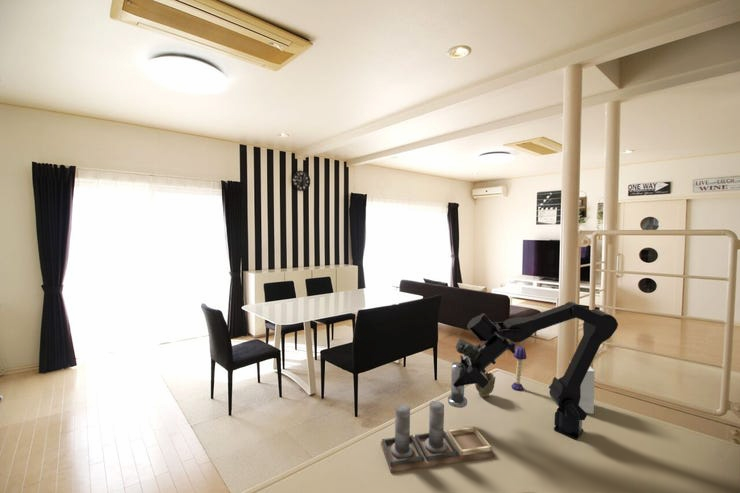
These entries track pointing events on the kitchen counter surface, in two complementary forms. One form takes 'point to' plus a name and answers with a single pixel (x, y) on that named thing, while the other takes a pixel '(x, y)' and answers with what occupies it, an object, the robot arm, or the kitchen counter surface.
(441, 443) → the pin board
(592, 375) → the skincare box
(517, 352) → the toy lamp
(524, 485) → the kitchen counter surface
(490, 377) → the cup
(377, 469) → the kitchen counter surface
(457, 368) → the grey cylindrical piece
